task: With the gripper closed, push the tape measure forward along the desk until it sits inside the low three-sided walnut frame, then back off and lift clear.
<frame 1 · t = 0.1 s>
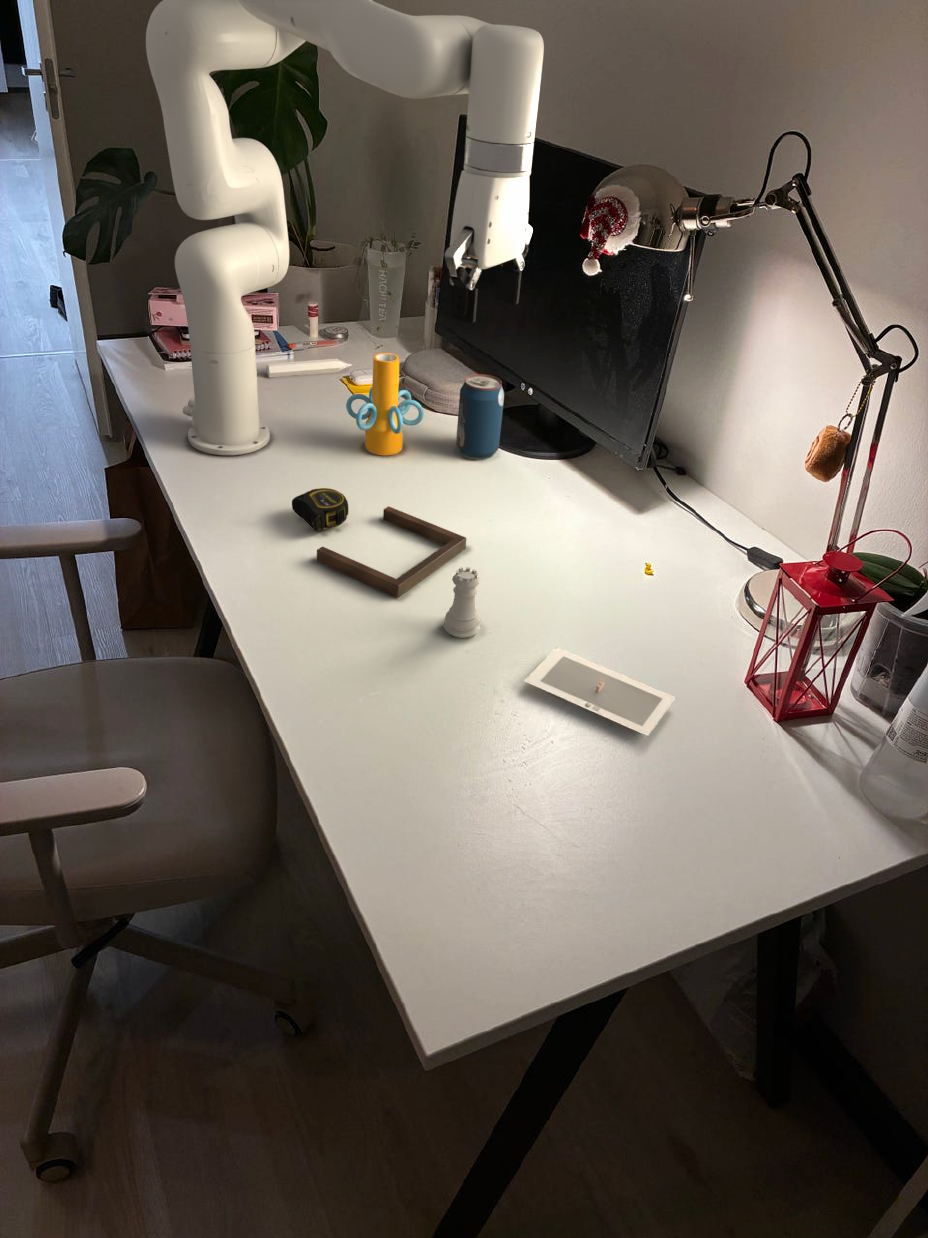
hand: (484, 310, 117), 31 cm above the table, tool pointing down, fingers open, 9 cm apart
rook chess piece: (461, 630, 116), on the table
touchpad: (597, 698, 108), on the table
frame: (389, 553, 129), on the table
marker: (311, 373, 178), on the table
tape measure: (319, 525, 134), on the table
soda can: (476, 452, 156), on the table
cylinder: (383, 449, 155), on the table
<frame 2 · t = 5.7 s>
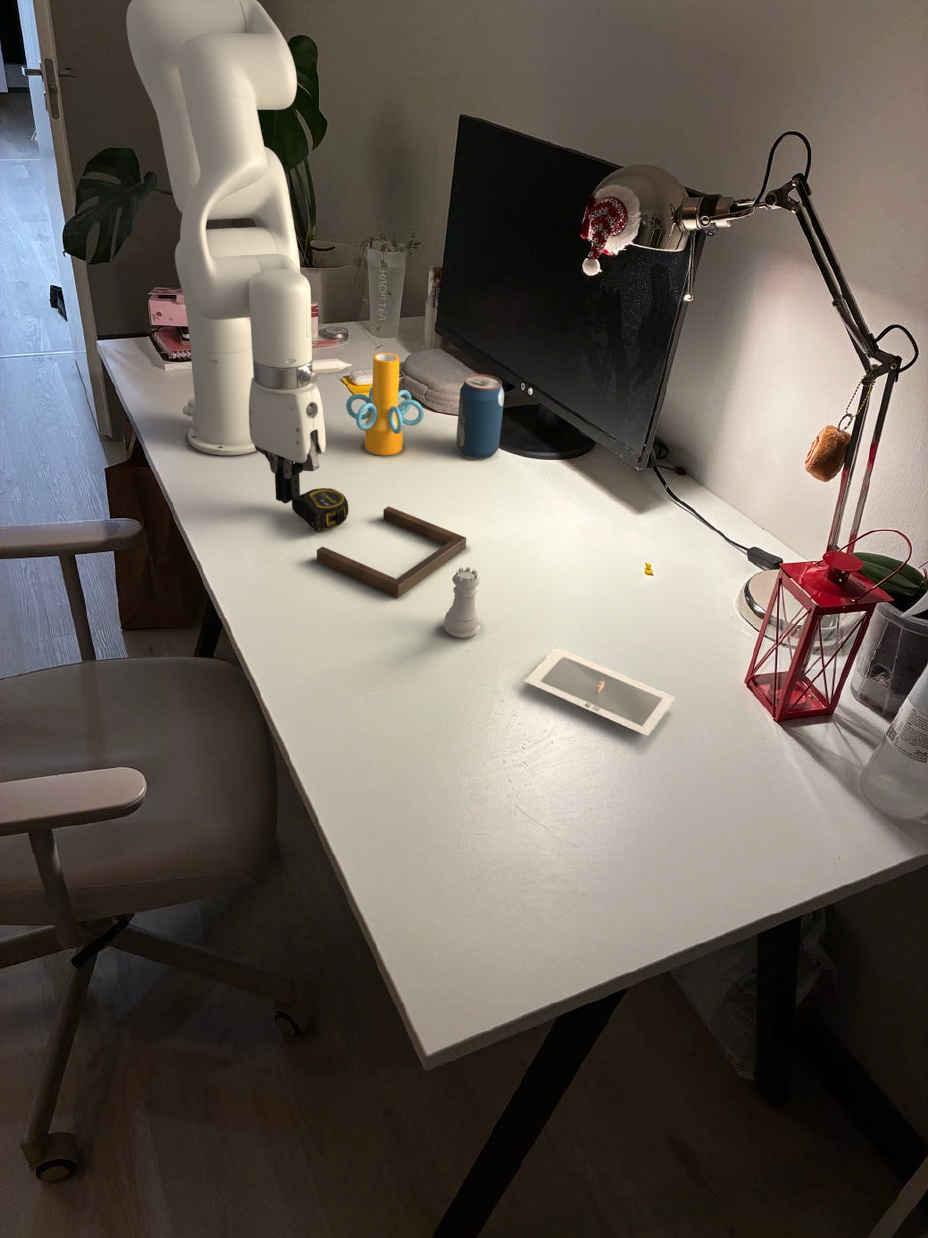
hand: (288, 498, 135), 2 cm above the table, tool pointing down, fingers closed
tape measure: (319, 525, 134), on the table, touching gripper
everything else where it was.
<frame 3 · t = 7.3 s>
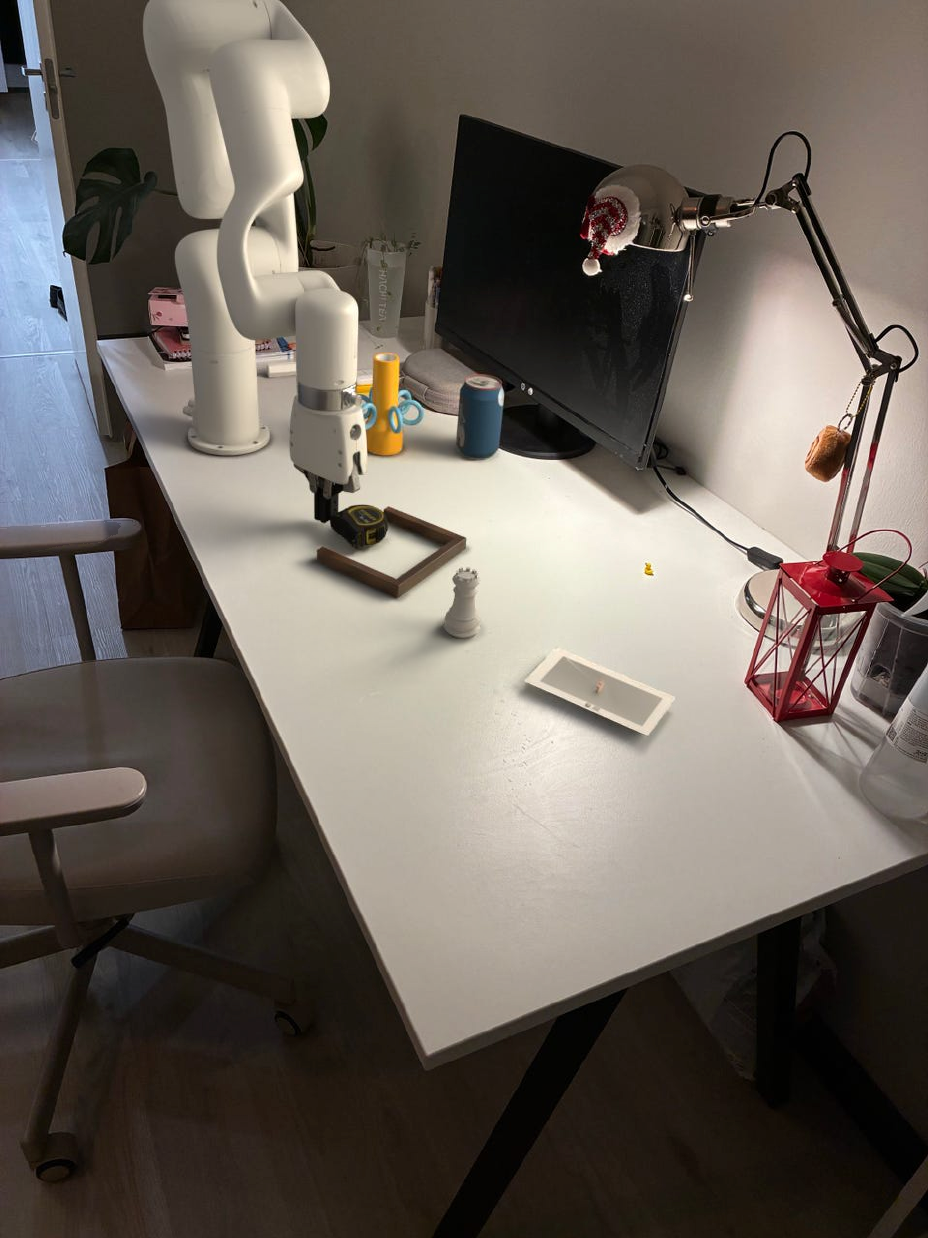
hand: (326, 517, 133), 1 cm above the table, tool pointing down, fingers closed
tape measure: (358, 542, 131), on the table, touching gripper
everything else where it was.
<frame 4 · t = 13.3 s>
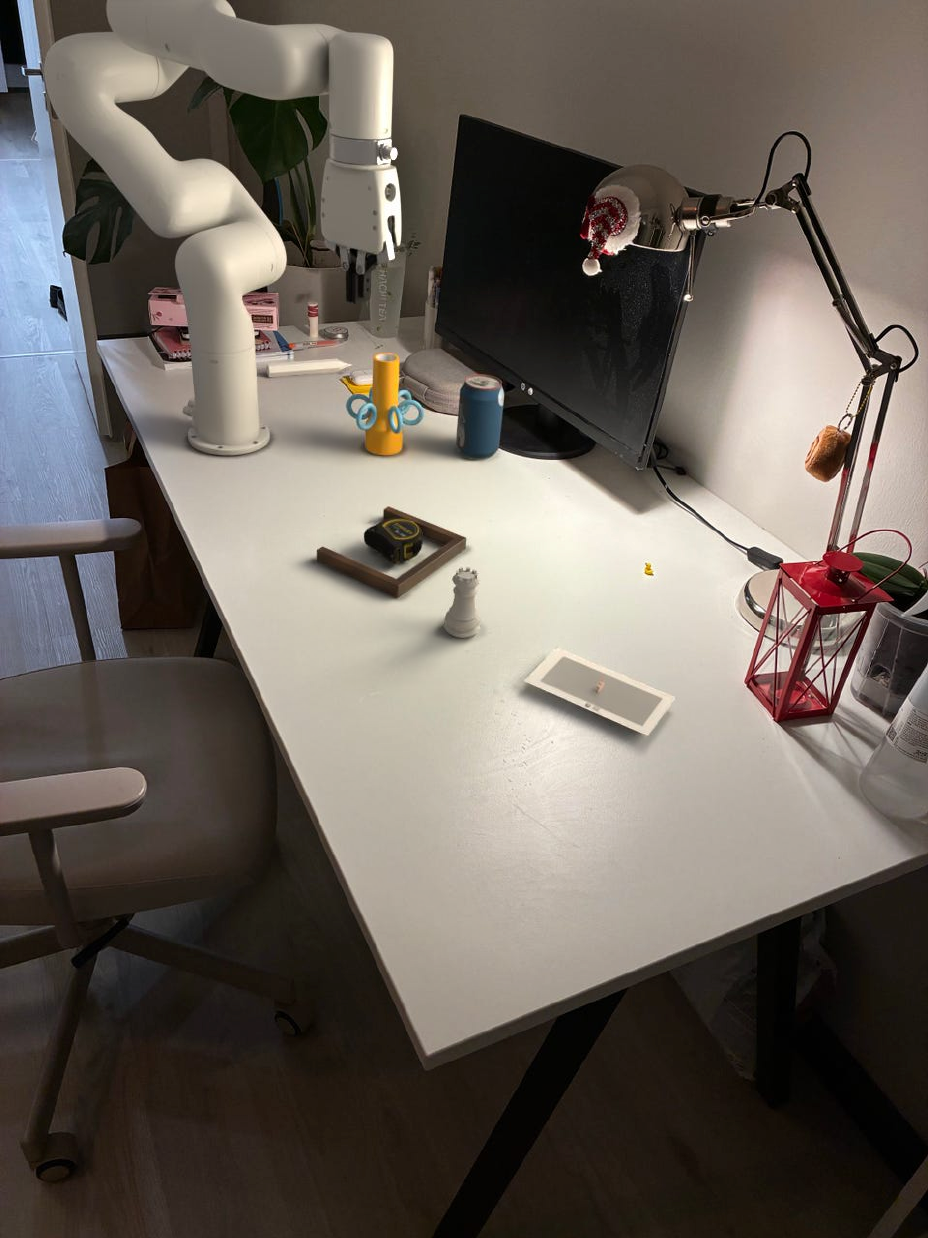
hand: (358, 300, 129), 27 cm above the table, tool pointing down, fingers closed
tape measure: (393, 556, 129), on the table
everything else where it was.
at the end: tape measure inside the target area on the frame (0.1 cm from its centre), point 0.0 cm above the frame's base; tape measure moved 12.8 cm from its start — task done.
